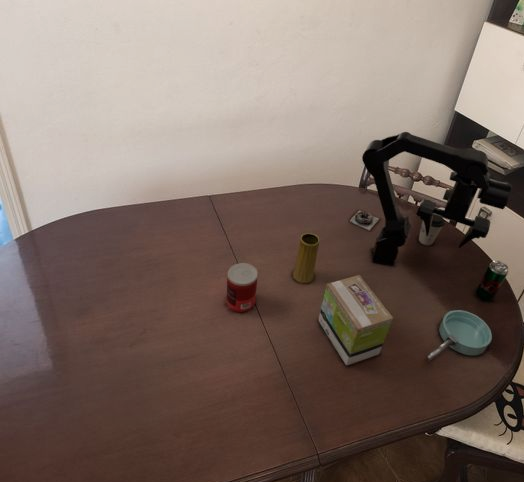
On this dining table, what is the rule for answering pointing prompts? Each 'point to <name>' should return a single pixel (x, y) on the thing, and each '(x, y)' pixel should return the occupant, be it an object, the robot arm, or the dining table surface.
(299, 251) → the vase
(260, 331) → the dining table surface
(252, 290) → the canned food
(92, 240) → the dining table surface
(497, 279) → the soda can
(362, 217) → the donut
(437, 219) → the coffee cup
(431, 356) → the pan handle
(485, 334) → the pan
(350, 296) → the tea box
